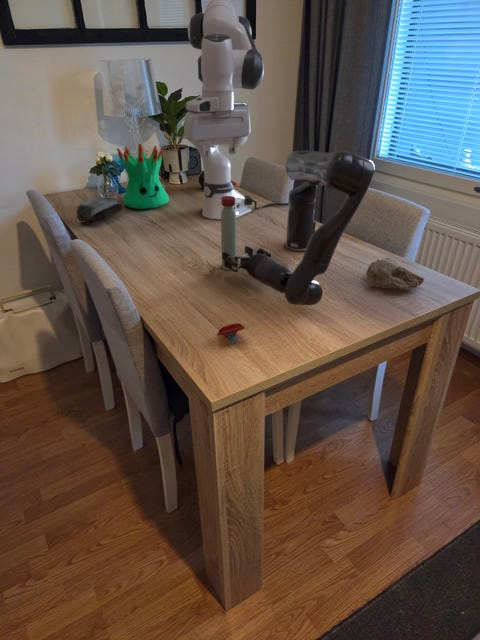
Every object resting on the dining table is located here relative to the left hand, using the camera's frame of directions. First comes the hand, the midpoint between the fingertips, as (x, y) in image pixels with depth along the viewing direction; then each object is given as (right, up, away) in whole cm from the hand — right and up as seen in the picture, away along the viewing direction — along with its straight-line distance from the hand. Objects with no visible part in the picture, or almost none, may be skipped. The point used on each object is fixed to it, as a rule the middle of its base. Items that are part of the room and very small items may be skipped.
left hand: (218, 155), depth 131 cm
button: (+4, -54, -21) cm, 58 cm away
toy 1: (-37, +4, +73) cm, 82 cm away
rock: (-51, -7, +54) cm, 75 cm away
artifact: (+52, -37, +7) cm, 64 cm away
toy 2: (-7, +18, +95) cm, 97 cm away
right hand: (+5, -27, +10) cm, 29 cm away
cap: (+3, -12, +4) cm, 13 cm away
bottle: (+3, -31, +16) cm, 35 cm away
